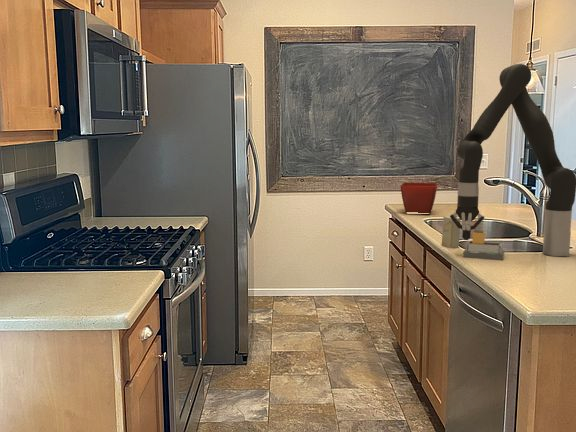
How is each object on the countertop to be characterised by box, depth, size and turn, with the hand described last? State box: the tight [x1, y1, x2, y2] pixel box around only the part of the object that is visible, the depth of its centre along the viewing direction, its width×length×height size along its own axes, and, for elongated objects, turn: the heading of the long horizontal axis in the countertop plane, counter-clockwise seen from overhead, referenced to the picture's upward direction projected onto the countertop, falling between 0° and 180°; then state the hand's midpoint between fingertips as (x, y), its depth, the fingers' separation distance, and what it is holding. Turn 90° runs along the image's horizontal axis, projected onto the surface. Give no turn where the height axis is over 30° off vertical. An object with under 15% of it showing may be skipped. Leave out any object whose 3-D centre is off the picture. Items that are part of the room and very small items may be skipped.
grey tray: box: [462, 240, 505, 261], centre depth 227 cm, size 14×9×5 cm, turn 67°
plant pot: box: [400, 182, 439, 214], centre depth 341 cm, size 19×19×17 cm
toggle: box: [471, 229, 486, 244], centre depth 228 cm, size 4×4×7 cm
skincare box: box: [441, 215, 461, 249], centre depth 246 cm, size 6×4×12 cm
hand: (466, 239), depth 229 cm, fingers closed
